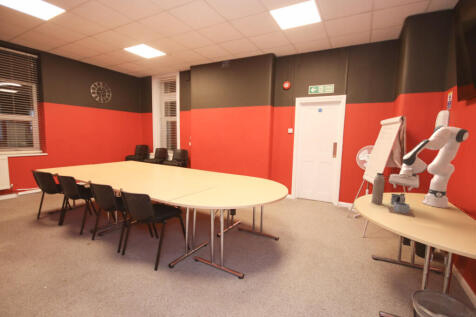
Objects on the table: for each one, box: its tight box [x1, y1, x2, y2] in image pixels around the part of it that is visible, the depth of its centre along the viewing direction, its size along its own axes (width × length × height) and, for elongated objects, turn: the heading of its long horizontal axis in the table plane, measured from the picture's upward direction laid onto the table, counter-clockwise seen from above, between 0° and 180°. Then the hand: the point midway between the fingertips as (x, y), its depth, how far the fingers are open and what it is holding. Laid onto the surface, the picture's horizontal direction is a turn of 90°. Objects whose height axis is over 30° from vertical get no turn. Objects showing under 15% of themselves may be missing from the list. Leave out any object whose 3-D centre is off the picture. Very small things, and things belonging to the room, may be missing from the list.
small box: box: [390, 193, 406, 207], centre depth 190 cm, size 11×6×10 cm, turn 168°
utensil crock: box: [392, 202, 411, 214], centre depth 175 cm, size 10×10×6 cm
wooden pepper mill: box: [371, 172, 386, 206], centre depth 194 cm, size 8×8×28 cm
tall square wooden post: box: [399, 193, 406, 205], centre depth 175 cm, size 4×4×13 cm
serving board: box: [387, 205, 416, 218], centre depth 176 cm, size 20×16×2 cm
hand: (401, 189), depth 181 cm, fingers open, 8 cm apart
